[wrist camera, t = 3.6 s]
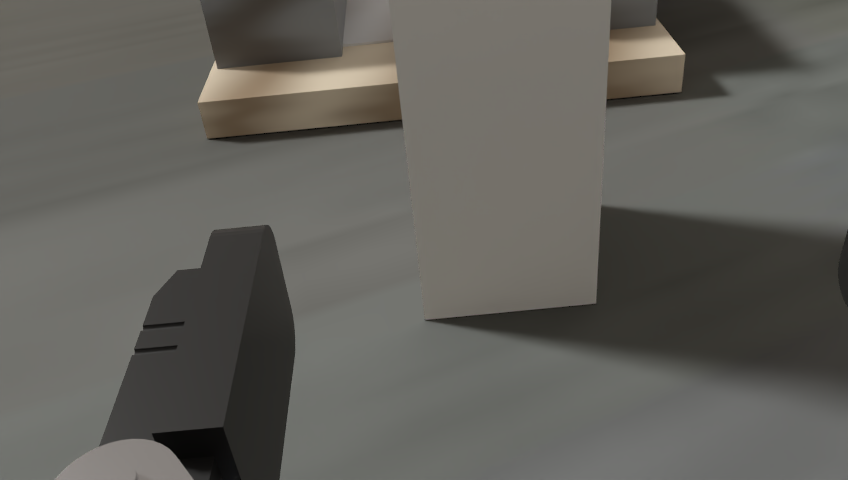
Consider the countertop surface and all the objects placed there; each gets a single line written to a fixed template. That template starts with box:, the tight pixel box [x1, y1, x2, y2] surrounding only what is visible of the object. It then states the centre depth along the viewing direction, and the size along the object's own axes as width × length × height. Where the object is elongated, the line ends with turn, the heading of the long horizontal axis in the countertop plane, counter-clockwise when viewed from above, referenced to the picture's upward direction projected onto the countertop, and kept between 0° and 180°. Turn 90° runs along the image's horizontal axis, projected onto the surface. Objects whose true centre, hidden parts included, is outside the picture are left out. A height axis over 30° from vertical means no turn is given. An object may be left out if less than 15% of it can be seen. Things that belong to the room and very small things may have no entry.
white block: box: [389, 0, 611, 320], centre depth 20 cm, size 4×5×12 cm
